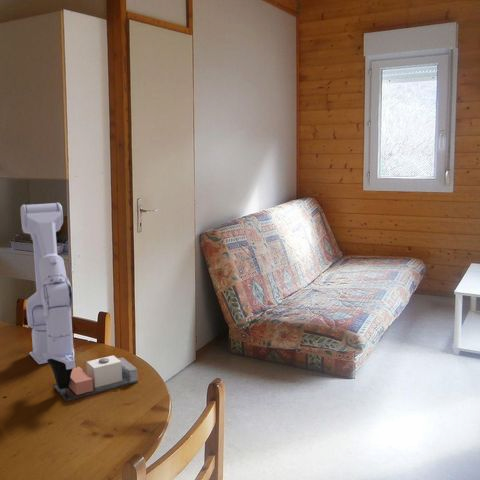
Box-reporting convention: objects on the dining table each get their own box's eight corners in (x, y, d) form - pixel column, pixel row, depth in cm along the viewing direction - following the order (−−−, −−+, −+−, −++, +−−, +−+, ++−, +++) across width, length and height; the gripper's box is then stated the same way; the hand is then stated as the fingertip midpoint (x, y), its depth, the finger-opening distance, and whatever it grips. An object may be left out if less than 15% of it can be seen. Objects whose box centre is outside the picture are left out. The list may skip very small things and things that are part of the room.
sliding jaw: (64, 381, 144) (63, 370, 144) (80, 377, 147) (79, 366, 146) (76, 395, 137) (75, 383, 137) (93, 390, 139) (92, 378, 139)
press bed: (54, 387, 143) (53, 373, 142) (123, 370, 153) (122, 357, 152) (66, 401, 136) (65, 387, 135) (137, 382, 146) (137, 368, 145)
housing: (87, 380, 146) (86, 360, 145) (114, 373, 150) (113, 353, 149) (95, 387, 142) (93, 366, 141) (122, 380, 146) (121, 360, 144)
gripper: (33, 328, 141) (37, 381, 143) (51, 346, 129) (55, 403, 132) (62, 322, 145) (66, 374, 147) (83, 339, 133) (86, 395, 136)
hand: (63, 387), depth 140 cm, fingers closed, pressing on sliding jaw
